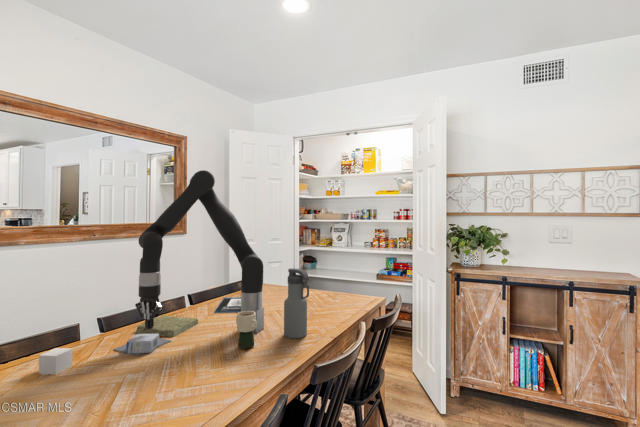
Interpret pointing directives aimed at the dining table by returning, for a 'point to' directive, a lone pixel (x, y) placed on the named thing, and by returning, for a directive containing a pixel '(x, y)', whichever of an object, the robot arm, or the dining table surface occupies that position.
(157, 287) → the robot arm
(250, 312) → the character mug
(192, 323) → the folded green cloth
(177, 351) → the dining table surface
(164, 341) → the mat
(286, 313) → the water bottle
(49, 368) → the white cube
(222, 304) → the sketchbook
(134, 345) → the medicine box
